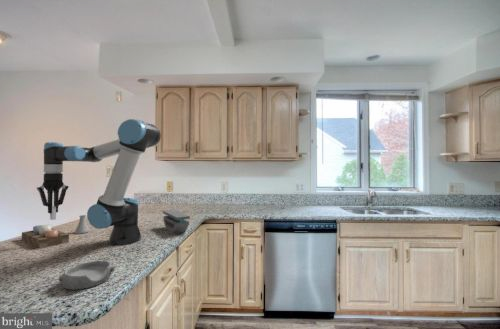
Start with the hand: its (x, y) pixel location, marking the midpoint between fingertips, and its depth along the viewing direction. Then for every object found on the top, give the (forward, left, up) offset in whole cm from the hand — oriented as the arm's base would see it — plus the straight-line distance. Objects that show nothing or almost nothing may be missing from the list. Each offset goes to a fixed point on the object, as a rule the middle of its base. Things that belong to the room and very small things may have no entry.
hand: (52, 219), depth 123 cm
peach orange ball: (+1, 0, -11) cm, 11 cm away
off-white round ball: (+9, 0, -9) cm, 13 cm away
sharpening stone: (-30, -53, -13) cm, 62 cm away
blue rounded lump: (+17, 0, -11) cm, 20 cm away
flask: (+12, -19, -13) cm, 25 cm away
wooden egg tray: (+9, 0, -12) cm, 15 cm away
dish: (-57, +10, -13) cm, 60 cm away
